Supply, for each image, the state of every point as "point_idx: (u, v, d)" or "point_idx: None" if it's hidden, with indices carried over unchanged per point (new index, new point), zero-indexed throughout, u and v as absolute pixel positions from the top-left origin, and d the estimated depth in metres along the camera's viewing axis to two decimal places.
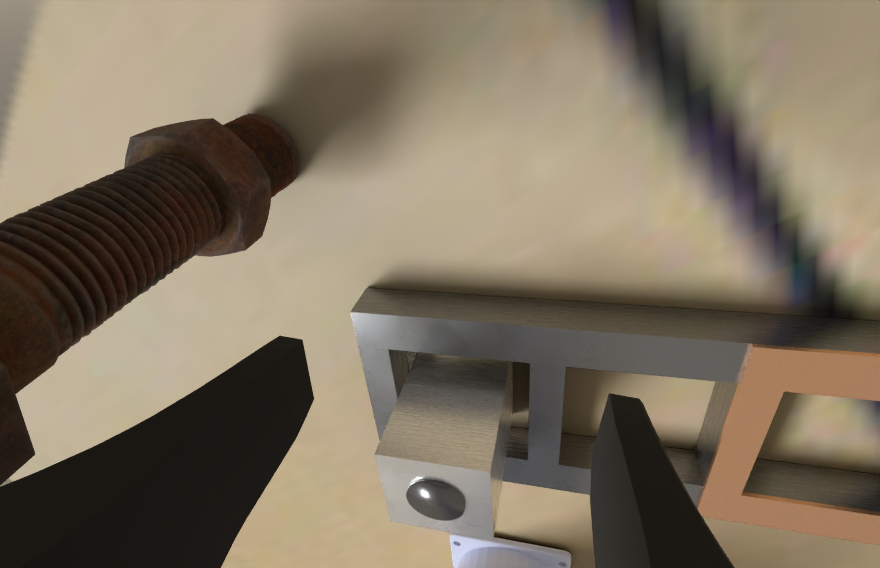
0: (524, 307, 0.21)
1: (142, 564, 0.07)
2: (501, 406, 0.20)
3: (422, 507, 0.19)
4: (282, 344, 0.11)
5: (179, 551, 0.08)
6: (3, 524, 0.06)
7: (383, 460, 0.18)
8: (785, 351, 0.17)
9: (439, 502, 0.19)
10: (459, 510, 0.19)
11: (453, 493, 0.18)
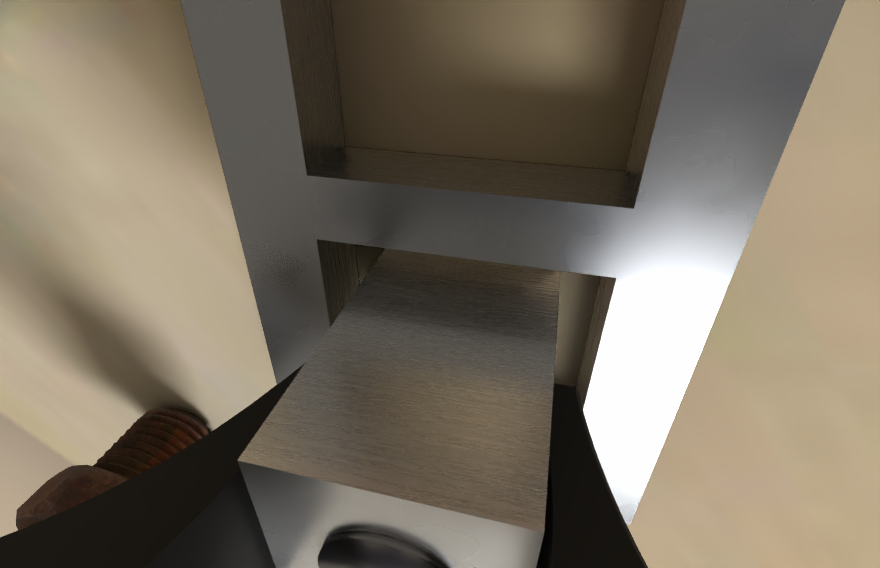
0: None
1: None
2: (333, 328, 0.10)
3: None
4: None
5: None
6: (84, 549, 0.06)
7: None
8: None
9: None
10: (399, 556, 0.07)
11: (339, 543, 0.07)
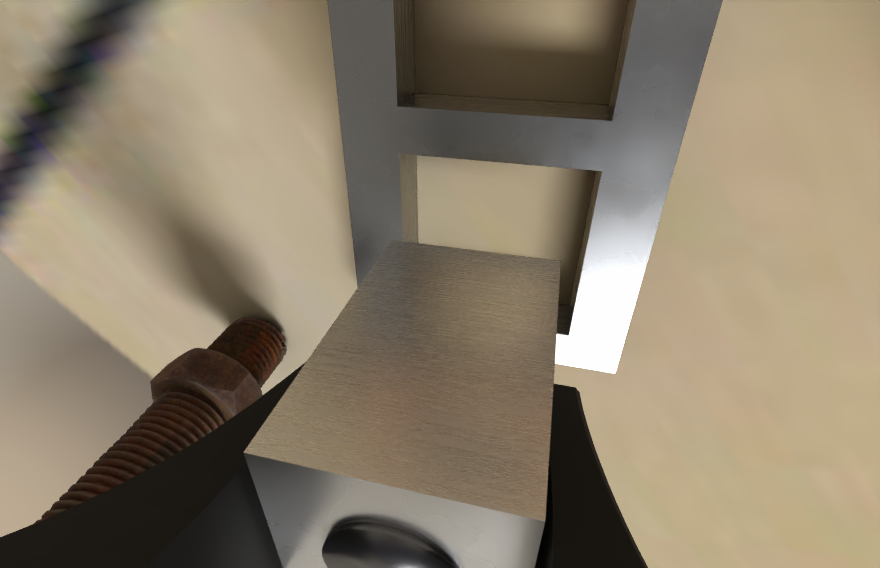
0: None
1: None
2: (336, 324, 0.10)
3: None
4: None
5: None
6: (84, 549, 0.06)
7: None
8: None
9: (385, 567, 0.08)
10: (402, 546, 0.07)
11: (343, 535, 0.08)
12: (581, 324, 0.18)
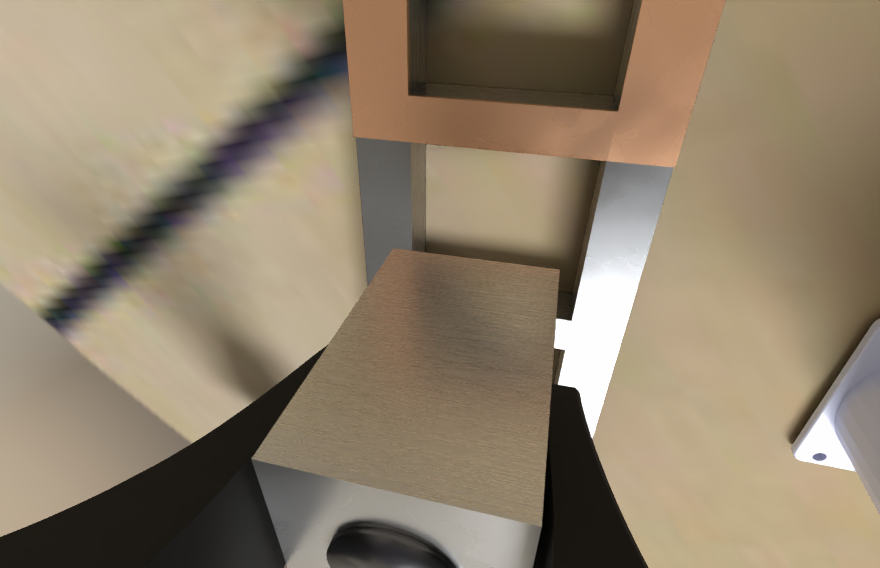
0: None
1: None
2: (339, 332, 0.10)
3: None
4: None
5: None
6: (83, 549, 0.06)
7: None
8: (353, 106, 0.16)
9: None
10: (404, 550, 0.08)
11: (347, 538, 0.08)
12: None
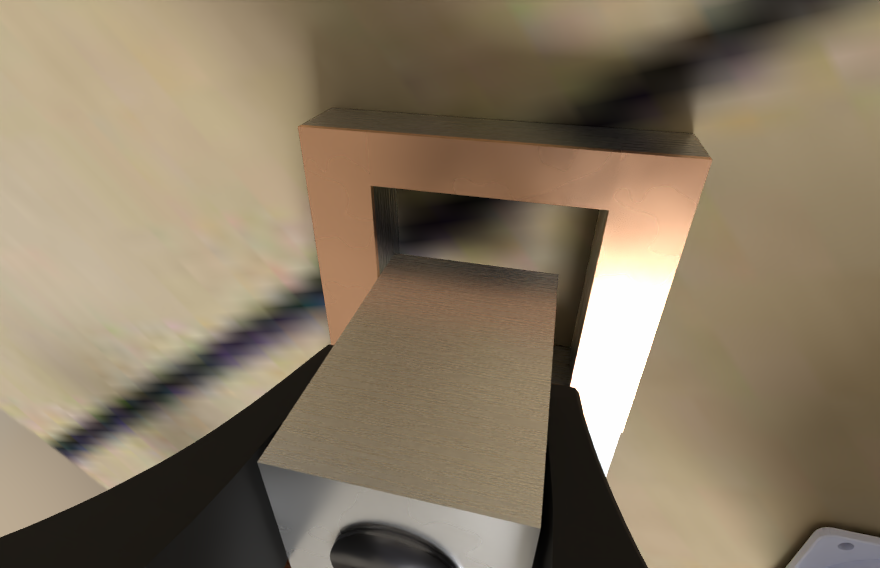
0: None
1: None
2: (342, 337, 0.10)
3: None
4: None
5: None
6: (83, 549, 0.06)
7: None
8: None
9: None
10: (406, 551, 0.08)
11: (351, 539, 0.08)
12: None
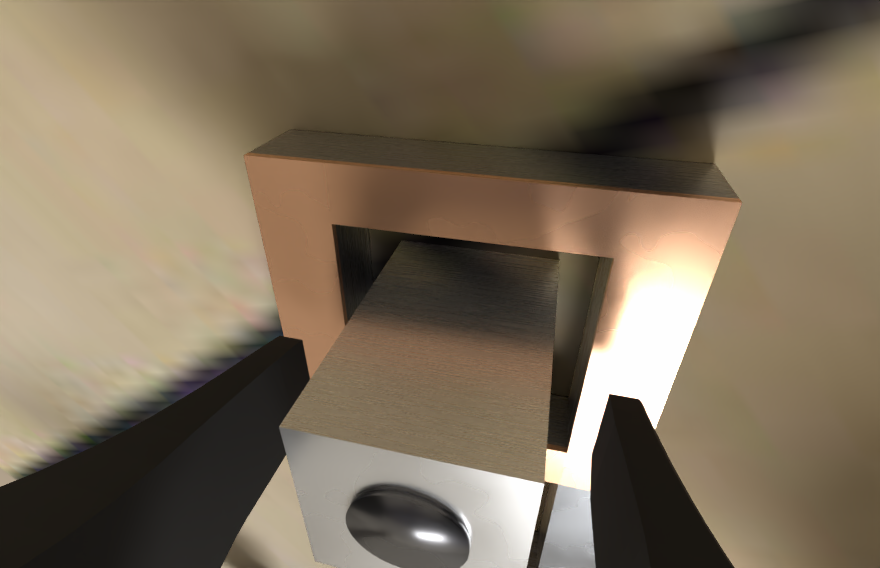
0: None
1: (142, 564, 0.07)
2: (354, 316, 0.11)
3: (432, 559, 0.09)
4: (282, 344, 0.11)
5: (179, 551, 0.08)
6: (3, 525, 0.06)
7: (325, 557, 0.10)
8: None
9: (402, 531, 0.09)
10: (419, 510, 0.08)
11: (365, 501, 0.09)
12: None
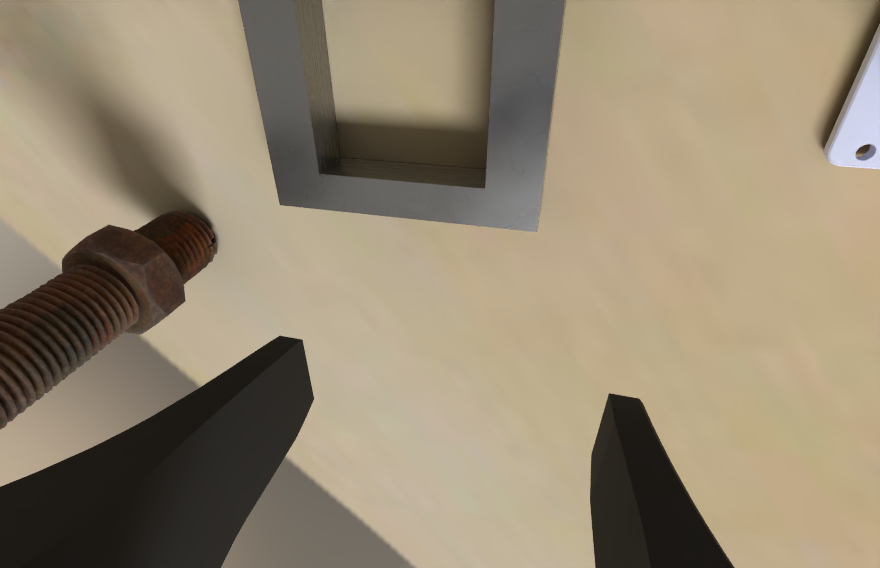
0: None
1: (142, 564, 0.07)
2: None
3: None
4: (282, 344, 0.11)
5: (179, 551, 0.08)
6: (3, 525, 0.06)
7: None
8: None
9: None
10: None
11: None
12: (496, 173, 0.17)
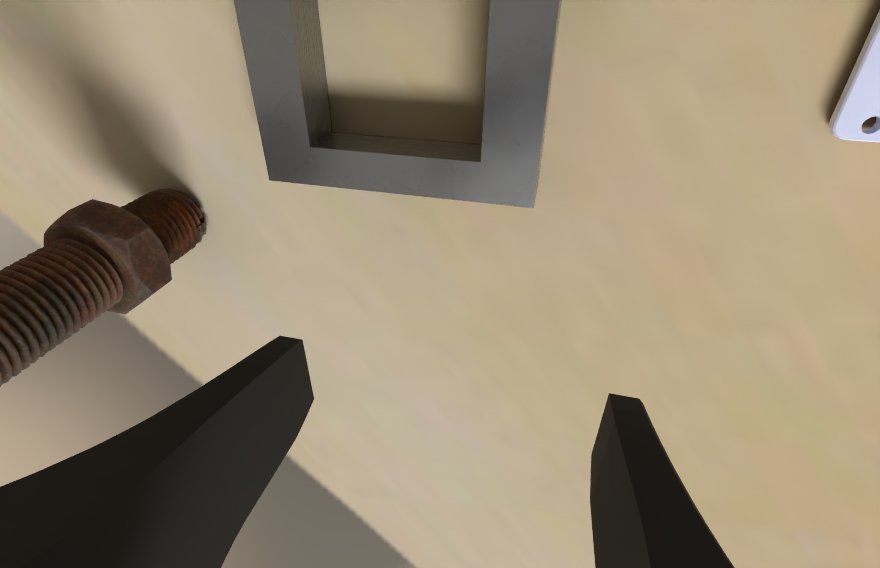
0: None
1: (142, 564, 0.07)
2: None
3: None
4: (282, 344, 0.11)
5: (179, 551, 0.08)
6: (3, 525, 0.06)
7: None
8: None
9: None
10: None
11: None
12: (492, 145, 0.16)
